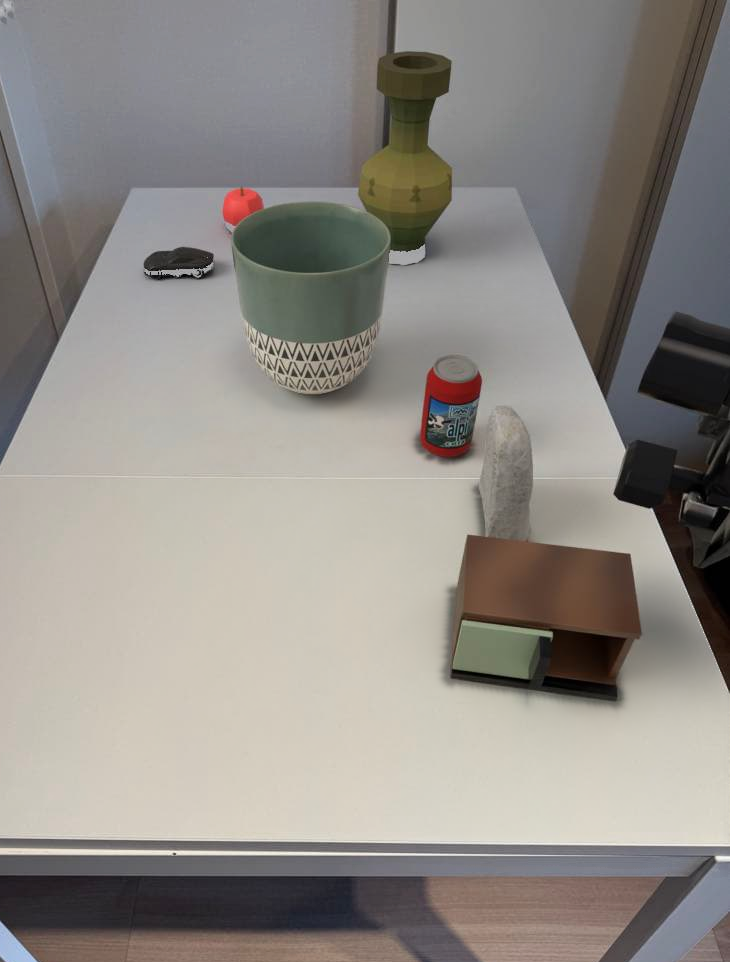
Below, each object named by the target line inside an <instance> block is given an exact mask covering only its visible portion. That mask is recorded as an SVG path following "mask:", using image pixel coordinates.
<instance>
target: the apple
mask: <svg viewBox="0 0 730 962" xmlns="http://www.w3.org/2000/svg"><path fill="white" fill-rule="evenodd" d="M264 208H265V206H264V202H263V198H262V197H261V195H260V194H259V193H258V192H257V191H255V190H253V189H250V188H243V186H240V188H236V189H233V190H230V191H228V192H227V193H226V195H225V196H224V200H223V205H222V217H223V220H224V222H225V221H226V222H228V223H230V224H232V225H233V226H236V225H237V224H238V223H239V222H240V221H241V220H243V219H244V218H245V217H247V216H249V215H250V214H252V213H254V212H257V211H259V210H262V209H264Z"/></svg>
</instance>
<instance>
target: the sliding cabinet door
mask: <svg viewBox="0 0 730 962" xmlns="http://www.w3.org/2000/svg"><path fill="white" fill-rule="evenodd" d="M552 638H553V632H550V631H542V630H534V629H527V628H519V627H511V626H504V625H496V624H489V623H481V622H473V621H466V620H462V624H461V628H460V633H459V638H458V642H457V647H456V652H455V656H454V661H453V669H457V670H465V671H472V672H479V673H486V674H494V675H501V676H508V677H515V678H522V679H529V689H528V690H532V691H538V690H540V688H541V685H542V682H543V680H544V677H545V675H546V672H547V669H548V667H549V664H550V661H551V641H552Z"/></svg>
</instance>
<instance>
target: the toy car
mask: <svg viewBox="0 0 730 962" xmlns="http://www.w3.org/2000/svg"><path fill="white" fill-rule="evenodd" d="M207 257H208V258H207ZM214 257H215V255H214V253H213V252H211V251H208V250H203V249H200V248H196V247H191V246H179V247H176V248H173V250H158V251H157V250H156V251H154V252H152V253H151V254H150V255H148V256H147V257H146V258H145V259H144V261H143V269H144V268H145V269H147V270H148V271H159V270H160V271H161V270H176V269H178V270H179V269H193V268H194V269H199V268H200V269H203V268H207V267H206V266H208V265H210V264H211V263H212V262H213V260H214ZM143 274H144V275H145V276H148V277H151V278H152V279H153V280H159V279H161V278H162V277H173V278H175V277H176V278H175V279H179V278H178V277H177V276H176V275H175V277H174V276H173V275H172V276H170V274H166V275H165V274H164V275H162V272H161V275H159V272H158V275H151V272H150V275H148V274H146V272H144V271H143ZM197 276H198V275H197ZM201 276H202V275H201ZM179 277H180V275H179ZM202 277H203V276H202ZM180 278H181V277H180ZM196 279H198V278H196Z"/></svg>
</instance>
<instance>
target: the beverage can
mask: <svg viewBox="0 0 730 962" xmlns="http://www.w3.org/2000/svg"><path fill="white" fill-rule="evenodd" d="M482 386H483V378H482V375H481V373H480V371H479V365H478V364H477V362H476V361H475V360H473V359H472V358H470V357H468V356H465V355H461V354H445V355H443V356H441V357H439V358H437V359H436V360H435V361H434V364H433V366H432V367H431V368H430V369H429V371H428V372H427V374H426V379H425V389H424V396H423V406H422V412H421V421H420V423H421V425H420V433H419V441H420V444H421V445H422V447H423V448H424V449H425V450H426V451H427V452H429V453H431V454H433V455H436V456H440V457H447V458H448V457H449V458H450V457H456V456H460V455H462V454H464V453H466V452H467V451H468V450H469V449H470V447H471V445H472V442H473V441H472V440H473V438H474V437H473V436H474V432H475V426H476V420H477V415H478V409H479V403H480V397H481V393H482V392H481V391H482Z"/></svg>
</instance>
